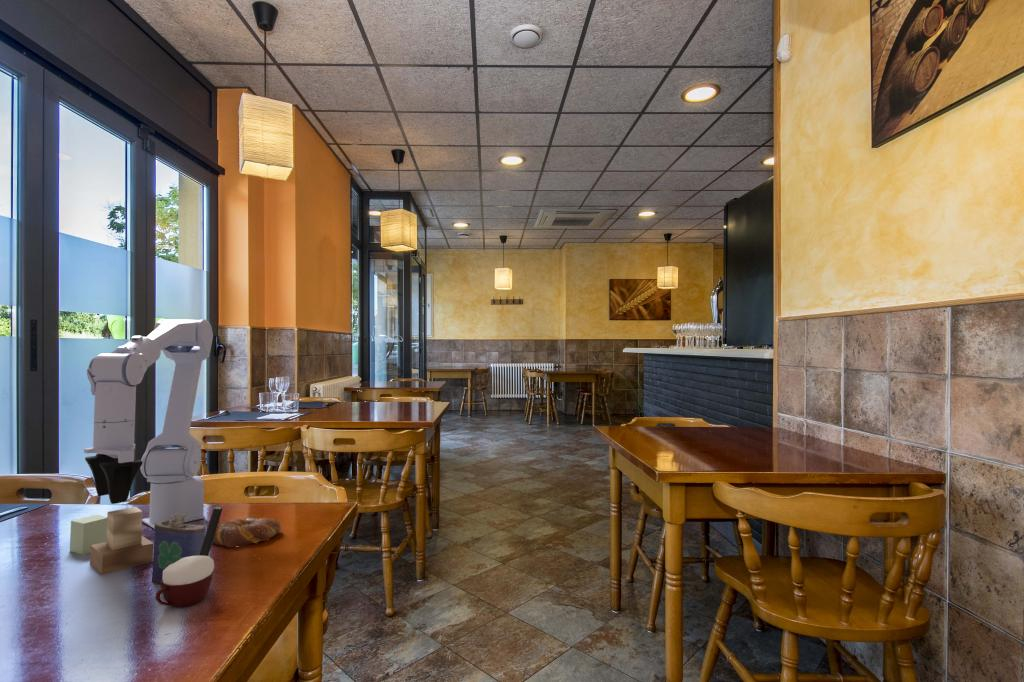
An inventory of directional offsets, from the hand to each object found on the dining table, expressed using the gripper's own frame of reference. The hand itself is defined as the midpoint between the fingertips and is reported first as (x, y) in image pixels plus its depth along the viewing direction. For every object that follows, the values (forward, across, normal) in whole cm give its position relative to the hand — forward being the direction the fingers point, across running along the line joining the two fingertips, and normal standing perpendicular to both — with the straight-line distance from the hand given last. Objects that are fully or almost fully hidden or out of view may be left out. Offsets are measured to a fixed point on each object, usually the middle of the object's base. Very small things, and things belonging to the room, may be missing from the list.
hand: (111, 498), depth 89 cm
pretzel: (+11, +8, +20) cm, 24 cm away
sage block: (+10, -8, -1) cm, 13 cm away
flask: (+10, +20, +4) cm, 23 cm away
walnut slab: (+11, +4, +1) cm, 12 cm away
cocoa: (+10, +28, +2) cm, 30 cm away
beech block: (+7, +4, +1) cm, 8 cm away
